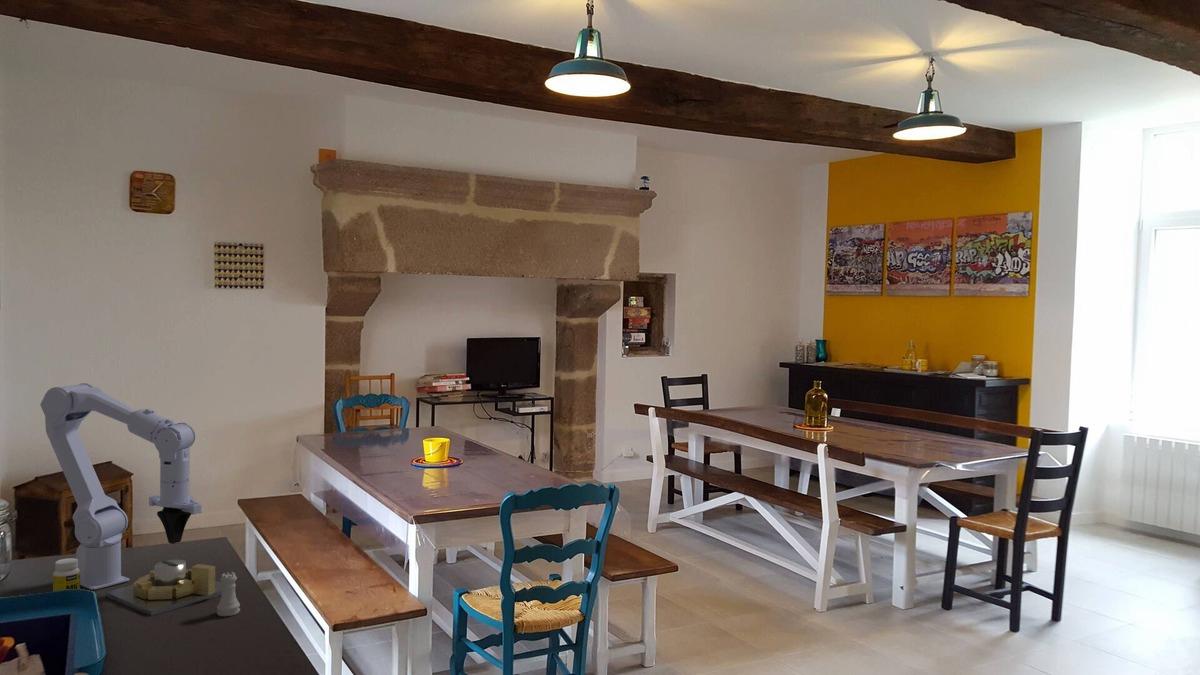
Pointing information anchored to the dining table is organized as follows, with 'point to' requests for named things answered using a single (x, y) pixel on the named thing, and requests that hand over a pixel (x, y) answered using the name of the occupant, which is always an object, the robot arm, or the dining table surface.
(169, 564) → the flange plate
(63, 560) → the supplement bottle
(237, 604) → the rook chess piece
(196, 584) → the tan hexagonal frame
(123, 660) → the dining table surface
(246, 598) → the dining table surface
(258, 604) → the dining table surface
